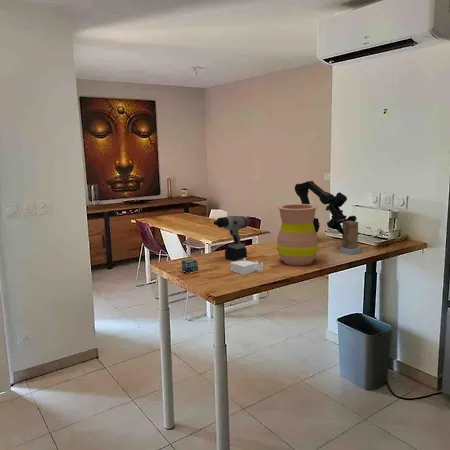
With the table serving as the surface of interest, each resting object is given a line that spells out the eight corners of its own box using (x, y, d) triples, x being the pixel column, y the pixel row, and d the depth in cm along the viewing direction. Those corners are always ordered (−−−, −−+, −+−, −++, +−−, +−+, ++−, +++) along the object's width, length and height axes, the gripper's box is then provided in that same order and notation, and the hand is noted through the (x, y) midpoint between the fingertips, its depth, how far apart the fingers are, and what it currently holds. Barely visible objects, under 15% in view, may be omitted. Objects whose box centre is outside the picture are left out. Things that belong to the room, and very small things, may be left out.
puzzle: (198, 272, 217) (197, 260, 216) (188, 274, 214) (187, 263, 213) (192, 269, 222) (191, 258, 221) (182, 271, 219) (181, 260, 218)
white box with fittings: (273, 276, 216) (250, 277, 205) (245, 268, 231) (223, 269, 220) (274, 260, 215) (252, 261, 204) (247, 254, 230) (224, 254, 219)
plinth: (339, 252, 246) (339, 247, 246) (349, 250, 250) (349, 245, 250) (350, 255, 240) (350, 249, 239) (360, 252, 243) (360, 247, 243)
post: (342, 247, 245) (342, 221, 243) (349, 245, 248) (350, 220, 246) (349, 249, 240) (350, 223, 238) (357, 247, 243) (358, 222, 240)
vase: (296, 269, 215) (296, 211, 210) (268, 260, 233) (267, 206, 228) (327, 262, 227) (327, 206, 222) (298, 254, 245) (298, 202, 240)
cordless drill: (211, 263, 233) (209, 218, 229) (240, 253, 251) (239, 212, 246) (221, 265, 228) (219, 219, 223) (250, 255, 246) (249, 213, 241)
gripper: (340, 218, 261) (353, 239, 254) (317, 221, 252) (329, 243, 245) (350, 207, 253) (364, 228, 246) (326, 210, 244) (340, 232, 237)
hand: (349, 233), depth 243 cm, fingers open, 9 cm apart
